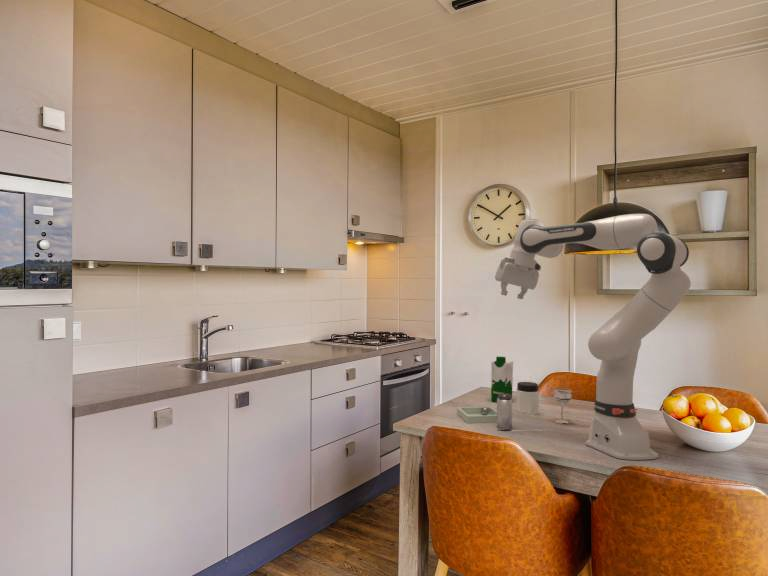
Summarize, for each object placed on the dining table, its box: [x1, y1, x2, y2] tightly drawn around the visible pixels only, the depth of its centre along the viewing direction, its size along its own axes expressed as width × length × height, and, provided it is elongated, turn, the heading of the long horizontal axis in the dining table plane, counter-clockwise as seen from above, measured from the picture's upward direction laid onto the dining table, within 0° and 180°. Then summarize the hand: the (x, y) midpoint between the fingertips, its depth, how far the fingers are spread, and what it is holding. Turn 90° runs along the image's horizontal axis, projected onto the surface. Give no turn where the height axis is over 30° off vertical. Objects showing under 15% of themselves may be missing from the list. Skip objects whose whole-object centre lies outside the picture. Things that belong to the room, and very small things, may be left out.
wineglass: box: [552, 388, 573, 424], centre depth 199 cm, size 7×7×12 cm
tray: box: [456, 406, 497, 424], centre depth 200 cm, size 14×14×3 cm
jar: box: [515, 381, 540, 416], centre depth 212 cm, size 9×8×12 cm
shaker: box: [496, 393, 513, 432], centre depth 188 cm, size 5×5×12 cm
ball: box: [481, 406, 489, 415], centre depth 204 cm, size 3×3×3 cm
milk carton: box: [490, 356, 514, 403], centre depth 232 cm, size 9×9×20 cm
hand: (511, 297), depth 197 cm, fingers open, 8 cm apart
